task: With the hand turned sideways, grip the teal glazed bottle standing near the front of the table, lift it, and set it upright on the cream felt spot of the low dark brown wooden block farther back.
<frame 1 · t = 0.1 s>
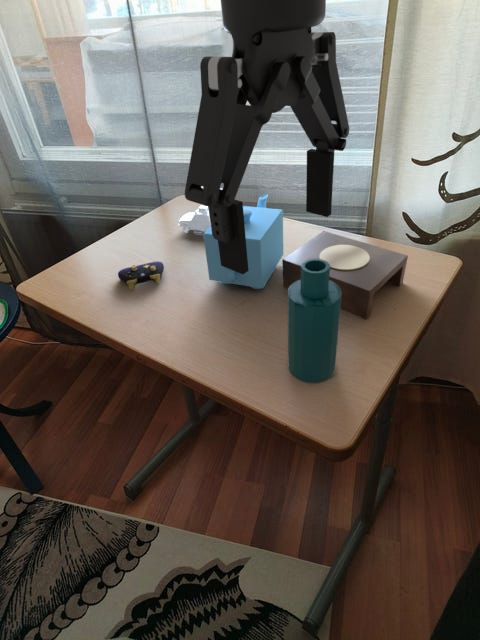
hand: (280, 238, 42), 27 cm above the table, tool pointing down, fingers open, 13 cm apart
teapot: (251, 270, 88), on the table
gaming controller: (143, 280, 89), on the table
bottle: (311, 366, 65), on the table
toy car: (205, 232, 104), on the table
dark brown wooden block: (341, 284, 82), on the table
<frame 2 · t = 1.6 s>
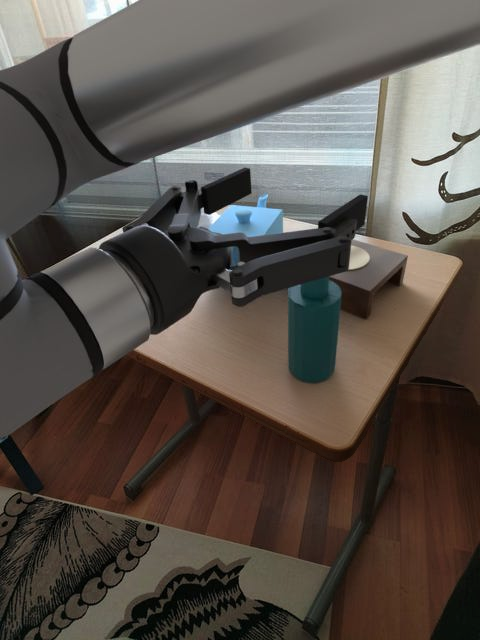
hand: (300, 193, 42), 30 cm above the table, tool horizontal, fingers open, 13 cm apart
nothing on the table moved.
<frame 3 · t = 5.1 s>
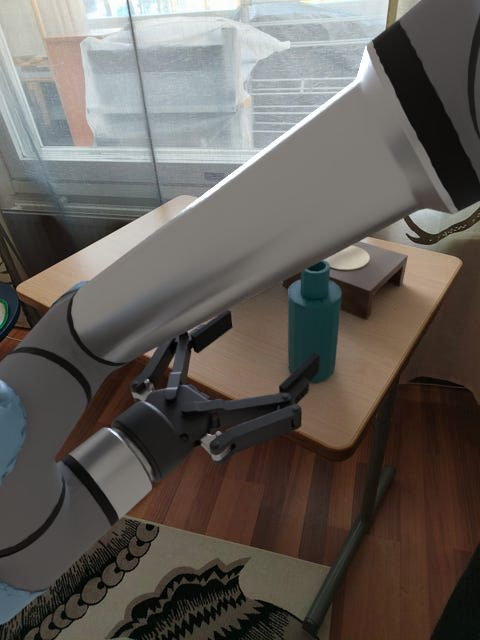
hand: (270, 338, 52), 12 cm above the table, tool horizontal, fingers open, 13 cm apart
nothing on the table moved.
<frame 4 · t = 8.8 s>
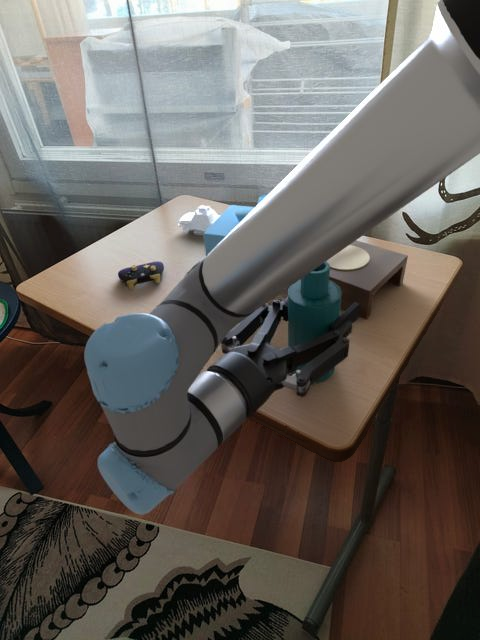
hand: (332, 301, 62), 9 cm above the table, tool horizontal, fingers closed on bottle, 7 cm apart
bottle: (311, 366, 65), on the table, touching gripper
everything else where it was.
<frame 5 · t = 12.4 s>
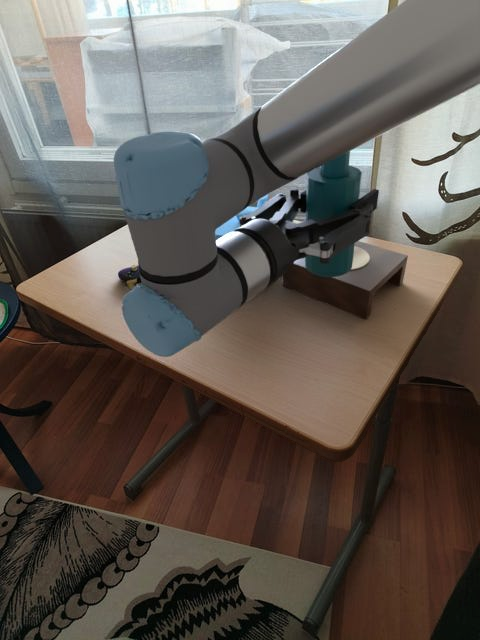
hand: (350, 193, 61), 22 cm above the table, tool horizontal, fingers closed on bottle, 7 cm apart
bottle: (328, 264, 64), point 12 cm above the table, touching gripper
everything else where it was.
when the fingers open (16 cm above the table, at t = 16.5 s): bottle stays where it is, resting on dark brown wooden block.
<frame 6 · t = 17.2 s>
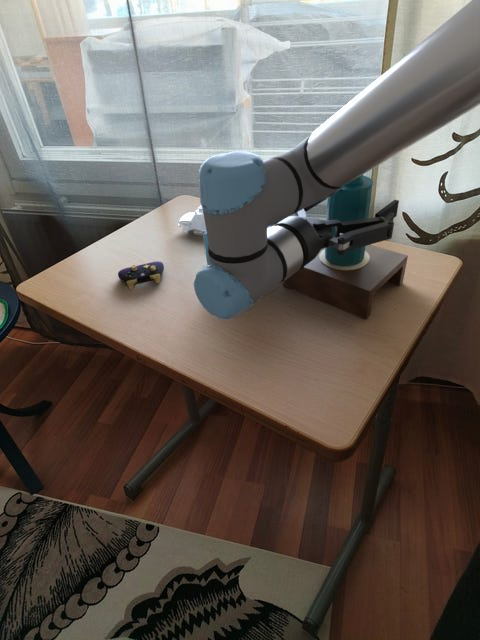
hand: (358, 199, 74), 16 cm above the table, tool horizontal, fingers open, 13 cm apart
bottle: (344, 256, 78), point 6 cm above the table, touching dark brown wooden block
everything else where it was.
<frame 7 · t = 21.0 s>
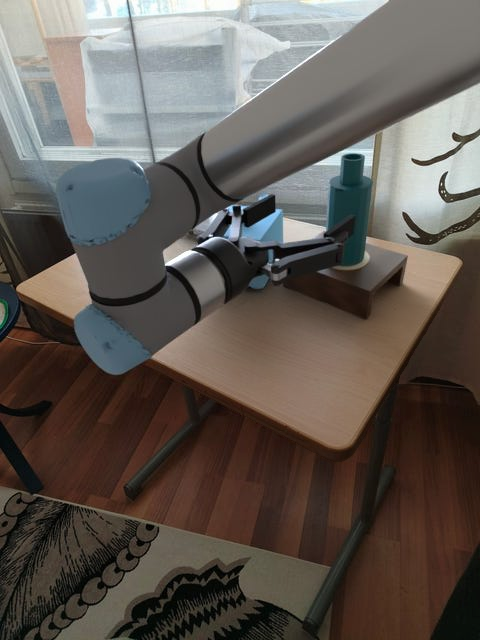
hand: (310, 212, 61), 20 cm above the table, tool horizontal, fingers open, 13 cm apart
nothing on the table moved.
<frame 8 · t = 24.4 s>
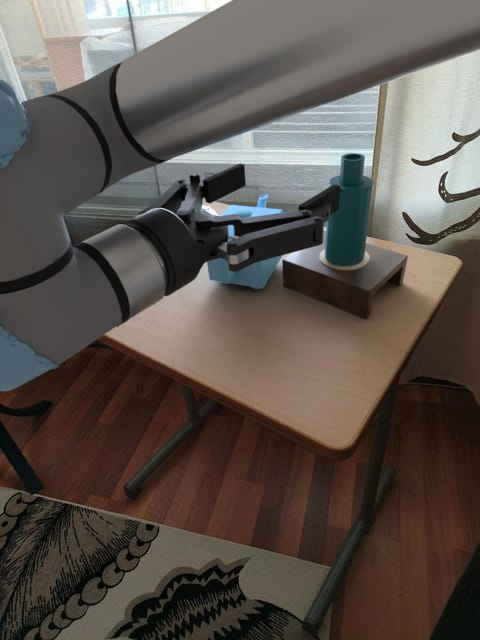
hand: (286, 184, 50), 28 cm above the table, tool horizontal, fingers open, 13 cm apart
nothing on the table moved.
at the end: bottle inside the target area on the dark brown wooden block (0.0 cm from its centre), point 6.2 cm above the dark brown wooden block's base; bottle tilted 0°; the gripper is holding nothing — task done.
